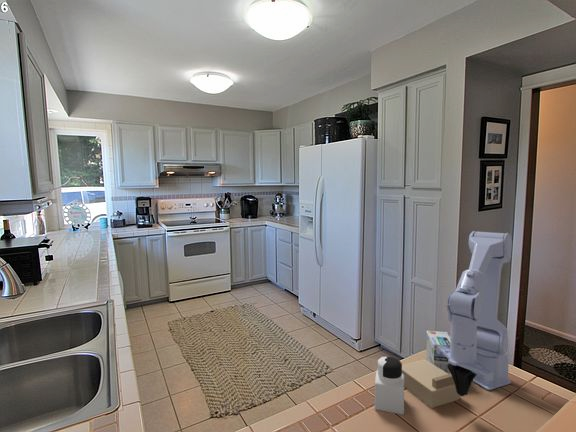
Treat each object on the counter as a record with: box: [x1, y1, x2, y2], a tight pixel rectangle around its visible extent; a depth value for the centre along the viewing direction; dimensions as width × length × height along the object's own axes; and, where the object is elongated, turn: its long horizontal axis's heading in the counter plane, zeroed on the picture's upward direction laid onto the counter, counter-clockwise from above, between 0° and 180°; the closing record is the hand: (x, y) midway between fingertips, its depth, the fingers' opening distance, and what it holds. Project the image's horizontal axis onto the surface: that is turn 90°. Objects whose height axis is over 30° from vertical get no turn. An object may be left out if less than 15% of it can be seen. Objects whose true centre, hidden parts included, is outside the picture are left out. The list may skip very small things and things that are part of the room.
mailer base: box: [402, 372, 462, 409], centre depth 91 cm, size 10×13×4 cm
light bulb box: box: [425, 330, 450, 374], centre depth 100 cm, size 11×7×11 cm, turn 168°
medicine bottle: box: [374, 356, 405, 416], centre depth 85 cm, size 7×7×12 cm
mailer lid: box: [402, 358, 455, 393], centre depth 91 cm, size 10×13×3 cm
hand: (462, 393), depth 81 cm, fingers closed
